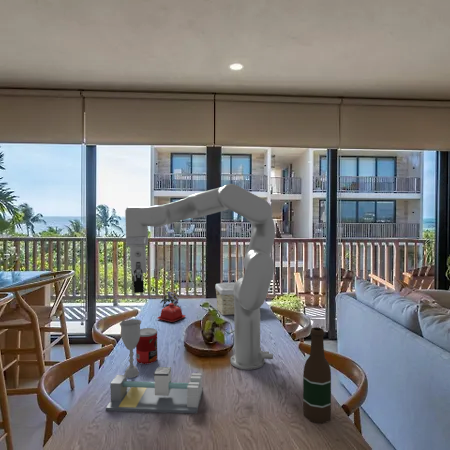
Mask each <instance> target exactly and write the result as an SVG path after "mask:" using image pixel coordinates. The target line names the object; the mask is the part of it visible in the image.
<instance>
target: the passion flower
mask: <svg viewBox="0 0 450 450" xmlns="http://www.w3.org/2000/svg"><path fill="white" fill-rule="evenodd" d="M165 292H166V294H165V295H164V296H163V295H161V299H162V300H161V301H160V302H159V303H160V304H162V303H163V304H162V305H163V306H162V307H164V306H165V305H166V304H167V302H168V303H173V304H174V305H173V306H177V307H178V304H179V297H180V295H179V294H178V293H177V291H174V292H172V291H170V290H165Z"/></svg>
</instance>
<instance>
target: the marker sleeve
mask: <svg viewBox="0 0 450 450" xmlns="http://www.w3.org/2000/svg"><path fill="white" fill-rule="evenodd" d="M153 376H154V381H153V382H155V395H161V396H168V395H169V393H170V390H171V388H169V382H172V367H171V366H168V367H167V366H157V368H156V370H155V371H154V372H153Z"/></svg>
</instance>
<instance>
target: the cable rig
mask: <svg viewBox="0 0 450 450" xmlns="http://www.w3.org/2000/svg"><path fill="white" fill-rule="evenodd" d="M202 376H203V375H202V373H201V372H200V373H199V372H198V373H197V372H196V373H195V372H192V373H191V375H190V381H189V382H175V381H174V382H172V381H171V382H169V388H171V390H170V393H169V395H168V396H161V395H155V382H154V381H135V380H134V381H132V380H131V381H130V380H129V381H127V380H128V377H127V375H124V374H116V375H115V376H114V378H113V379H112V381H111V382H110V384H109V385H110V401H109V403H108V404H107V405H106V407H105V411H110V412H111V411H112V412H114V411H115V412H139V413H141V412H145V413H170V414H171V413H173V414H177V413H178V414H198V412H199V406H200V403H201V399H202V394H203V388H204V387H203V377H202Z"/></svg>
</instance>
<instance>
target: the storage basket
mask: <svg viewBox="0 0 450 450" xmlns="http://www.w3.org/2000/svg"><path fill="white" fill-rule="evenodd" d="M235 283H236V282H221V283H220V282H219V283H216V284H215V288H214V289H215V293H216V307H217V310H218V311H219V313H220V314H221V315H222V316H230V315H234V296H233V289H234V285H235Z"/></svg>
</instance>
